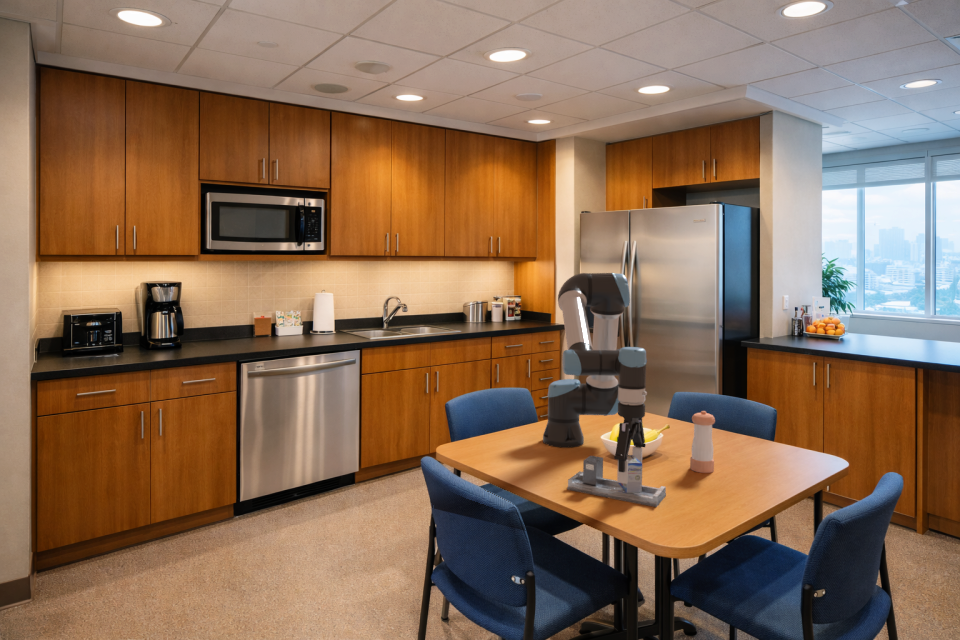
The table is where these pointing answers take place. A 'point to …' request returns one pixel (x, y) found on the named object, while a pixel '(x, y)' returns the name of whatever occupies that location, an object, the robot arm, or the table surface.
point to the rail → (611, 485)
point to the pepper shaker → (702, 443)
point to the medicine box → (633, 476)
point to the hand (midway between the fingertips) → (629, 475)
